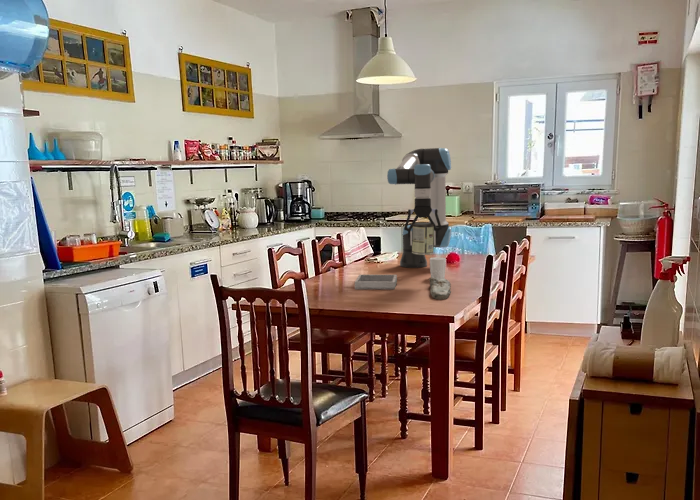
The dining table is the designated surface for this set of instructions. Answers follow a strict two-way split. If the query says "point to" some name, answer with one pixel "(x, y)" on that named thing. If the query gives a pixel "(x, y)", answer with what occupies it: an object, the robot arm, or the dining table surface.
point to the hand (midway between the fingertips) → (423, 244)
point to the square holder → (376, 282)
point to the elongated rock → (439, 288)
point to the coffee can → (422, 238)
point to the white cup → (437, 267)
